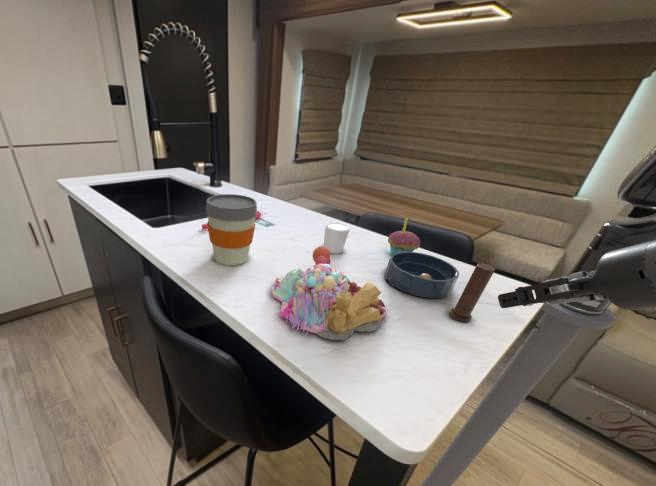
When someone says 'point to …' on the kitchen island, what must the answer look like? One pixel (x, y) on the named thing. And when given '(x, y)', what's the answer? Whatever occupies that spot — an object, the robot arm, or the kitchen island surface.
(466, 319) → the brown flared cylinder
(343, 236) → the white short cylinder
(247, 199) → the reusable coffee cup
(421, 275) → the bead
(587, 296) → the robot arm
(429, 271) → the bowl
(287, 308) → the multicoloured low lumpy mound
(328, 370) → the kitchen island surface
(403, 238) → the cupcake
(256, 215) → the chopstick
